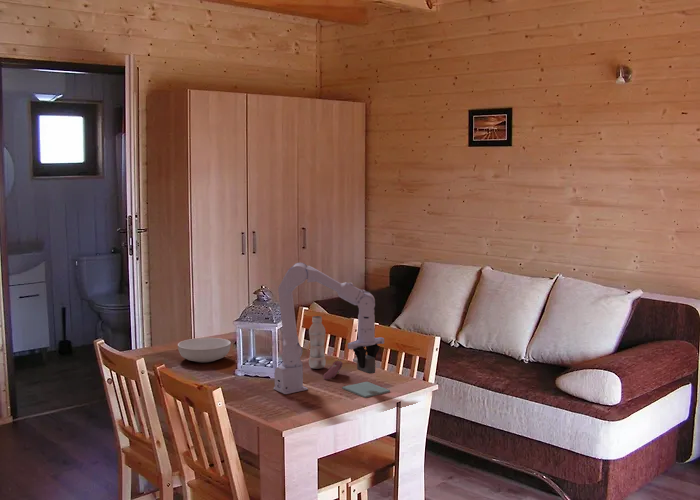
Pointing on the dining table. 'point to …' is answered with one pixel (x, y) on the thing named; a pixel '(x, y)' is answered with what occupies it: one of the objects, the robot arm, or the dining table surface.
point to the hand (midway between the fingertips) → (366, 366)
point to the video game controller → (333, 370)
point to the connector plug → (367, 364)
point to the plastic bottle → (317, 343)
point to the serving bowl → (204, 349)
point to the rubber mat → (366, 389)
